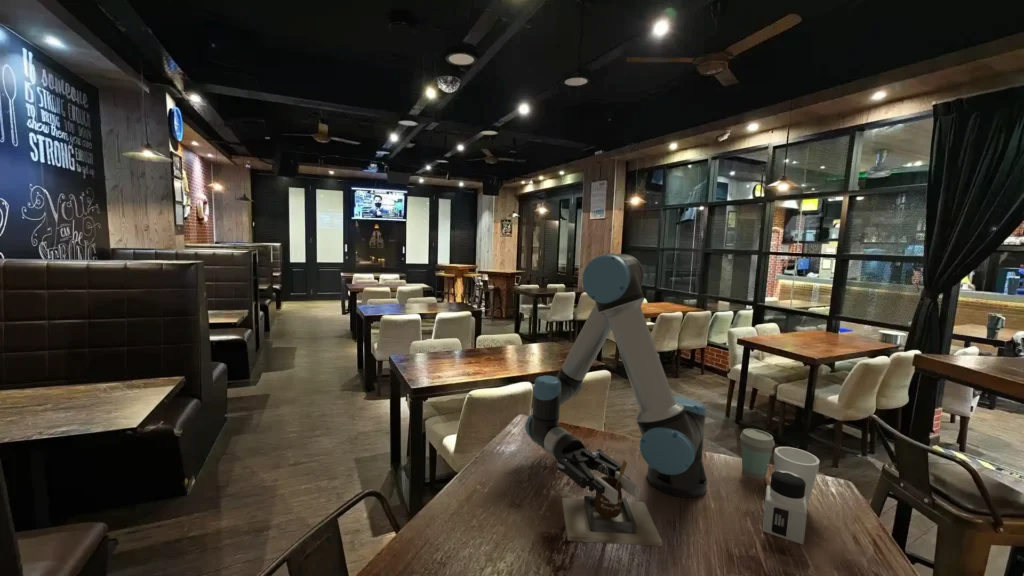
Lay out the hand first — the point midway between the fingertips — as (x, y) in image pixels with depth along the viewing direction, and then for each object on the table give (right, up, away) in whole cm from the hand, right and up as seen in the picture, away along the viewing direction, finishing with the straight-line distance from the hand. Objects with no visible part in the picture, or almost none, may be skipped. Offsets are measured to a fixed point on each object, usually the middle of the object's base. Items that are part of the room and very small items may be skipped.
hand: (626, 494), depth 93 cm
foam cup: (+46, -10, +15) cm, 49 cm away
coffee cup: (+44, -8, +29) cm, 53 cm away
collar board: (-3, -9, +5) cm, 11 cm away
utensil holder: (-3, -6, +5) cm, 9 cm away
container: (+37, -11, +5) cm, 39 cm away
